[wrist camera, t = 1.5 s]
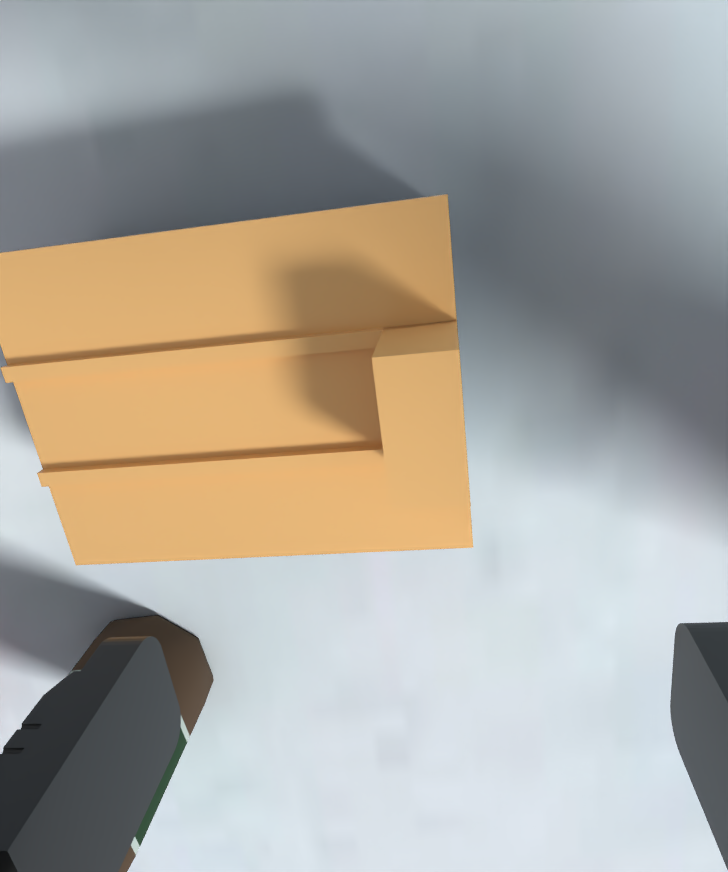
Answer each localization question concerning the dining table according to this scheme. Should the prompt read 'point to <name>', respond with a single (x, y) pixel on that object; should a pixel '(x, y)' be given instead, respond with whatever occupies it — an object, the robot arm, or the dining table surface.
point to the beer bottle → (188, 684)
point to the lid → (246, 385)
